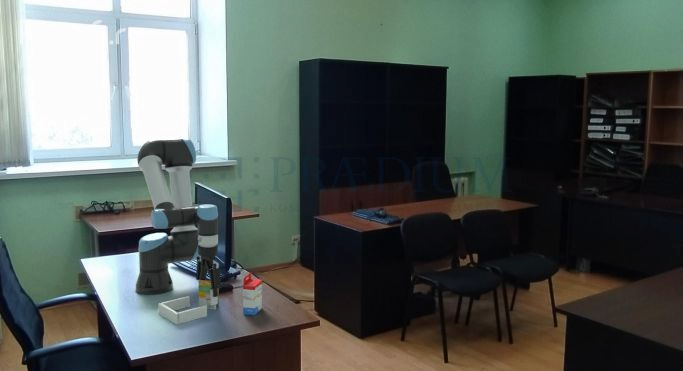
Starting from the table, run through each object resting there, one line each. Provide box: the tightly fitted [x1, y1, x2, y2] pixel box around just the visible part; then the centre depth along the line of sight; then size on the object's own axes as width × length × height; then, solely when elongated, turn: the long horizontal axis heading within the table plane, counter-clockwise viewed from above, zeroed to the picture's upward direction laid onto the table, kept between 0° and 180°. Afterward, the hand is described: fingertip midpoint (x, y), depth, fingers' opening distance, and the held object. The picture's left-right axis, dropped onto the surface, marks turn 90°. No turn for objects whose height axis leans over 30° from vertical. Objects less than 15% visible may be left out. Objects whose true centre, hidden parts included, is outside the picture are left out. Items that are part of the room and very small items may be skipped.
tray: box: [157, 295, 208, 325], centre depth 220 cm, size 14×12×4 cm
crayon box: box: [197, 279, 220, 311], centre depth 227 cm, size 7×3×12 cm, turn 80°
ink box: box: [242, 271, 263, 316], centre depth 224 cm, size 8×5×15 cm, turn 168°
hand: (208, 301), depth 227 cm, fingers closed on crayon box, 7 cm apart
